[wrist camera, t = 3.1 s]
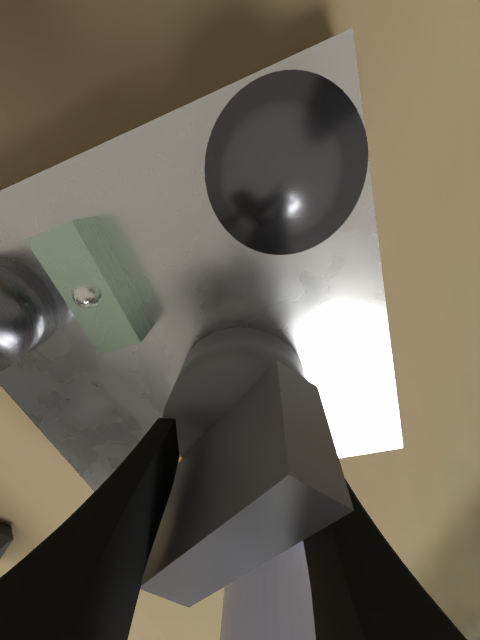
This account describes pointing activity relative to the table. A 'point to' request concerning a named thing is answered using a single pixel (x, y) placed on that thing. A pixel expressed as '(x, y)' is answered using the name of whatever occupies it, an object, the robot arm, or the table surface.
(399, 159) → the table surface
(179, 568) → the knob
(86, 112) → the table surface
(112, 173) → the plate
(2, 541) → the computer monitor
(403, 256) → the table surface
